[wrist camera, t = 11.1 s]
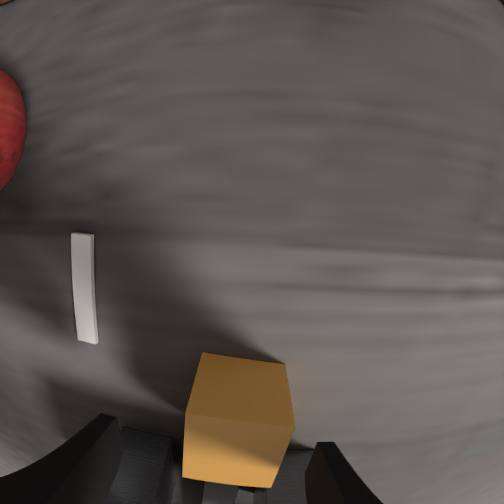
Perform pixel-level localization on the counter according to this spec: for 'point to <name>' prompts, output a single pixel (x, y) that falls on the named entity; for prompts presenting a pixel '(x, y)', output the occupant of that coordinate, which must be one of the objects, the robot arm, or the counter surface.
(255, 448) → the orange and grey bar
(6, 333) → the counter surface
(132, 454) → the housing
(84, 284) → the white slender bar
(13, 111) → the red rounded lump
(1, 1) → the sauce bottle
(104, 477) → the robot arm
